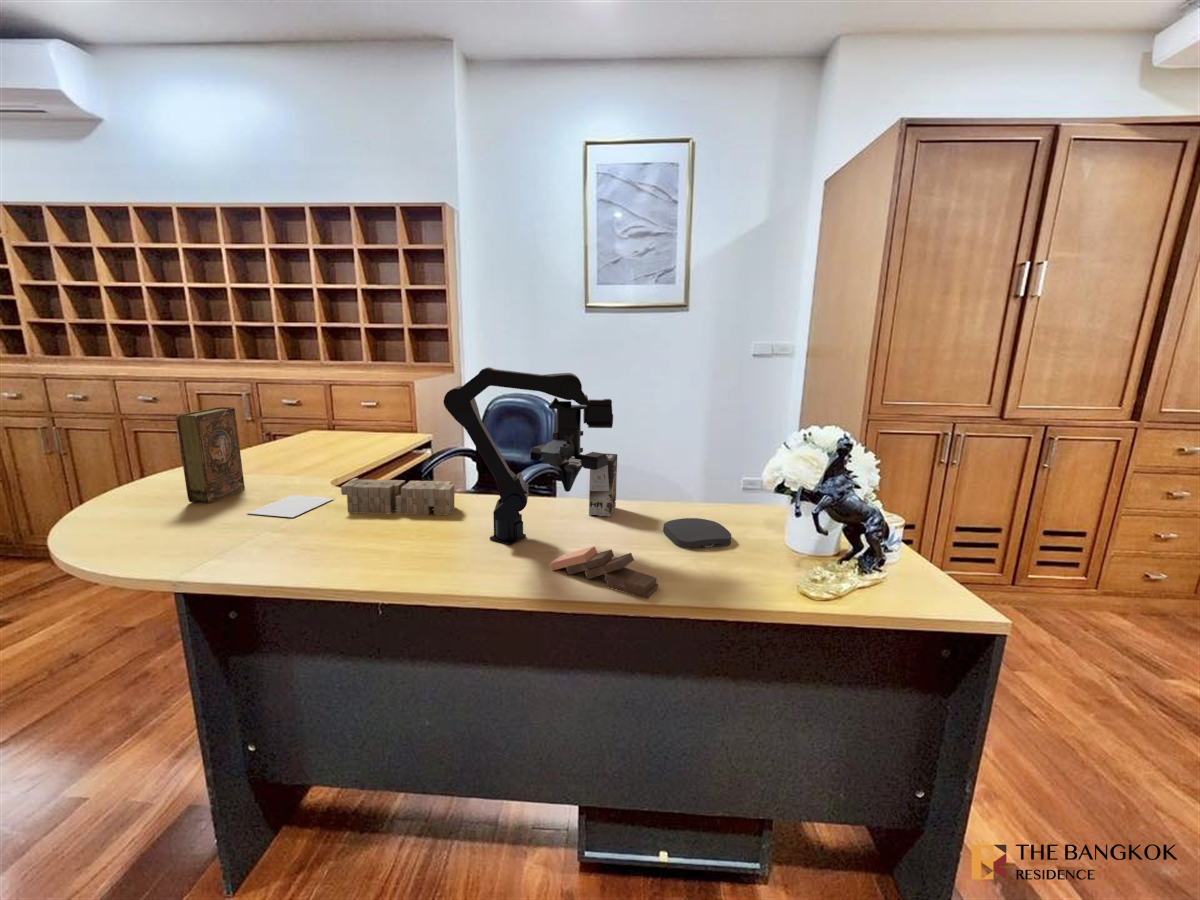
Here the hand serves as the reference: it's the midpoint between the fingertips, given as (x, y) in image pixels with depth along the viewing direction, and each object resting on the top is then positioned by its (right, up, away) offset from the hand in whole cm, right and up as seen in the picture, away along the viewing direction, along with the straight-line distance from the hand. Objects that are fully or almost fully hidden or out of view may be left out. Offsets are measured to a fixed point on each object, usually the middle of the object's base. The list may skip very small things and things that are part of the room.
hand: (567, 491), depth 126 cm
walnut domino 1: (+2, -15, -15) cm, 21 cm away
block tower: (-48, -7, +20) cm, 52 cm away
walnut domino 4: (+10, -17, -20) cm, 28 cm away
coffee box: (+9, -8, +22) cm, 25 cm away
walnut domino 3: (+10, -15, -20) cm, 27 cm away
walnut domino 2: (+6, -15, -17) cm, 24 cm away
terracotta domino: (-1, -14, -13) cm, 19 cm away
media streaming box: (+32, -12, +6) cm, 35 cm away
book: (-104, -4, +28) cm, 108 cm away
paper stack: (-74, -8, +15) cm, 76 cm away
